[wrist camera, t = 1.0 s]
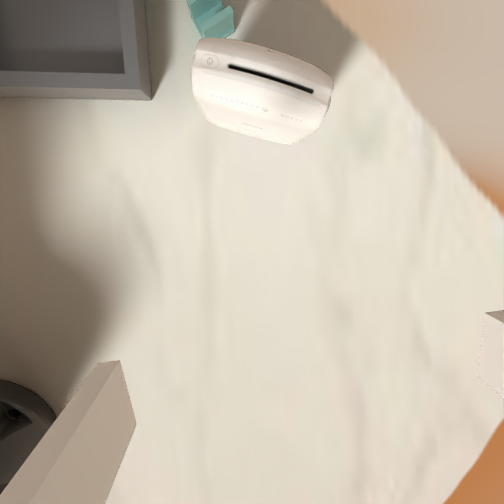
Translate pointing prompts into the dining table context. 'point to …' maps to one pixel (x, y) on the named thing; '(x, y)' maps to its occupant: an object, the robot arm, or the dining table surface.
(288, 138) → the photo printer
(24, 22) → the grey square tray
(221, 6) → the clip
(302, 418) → the dining table surface
